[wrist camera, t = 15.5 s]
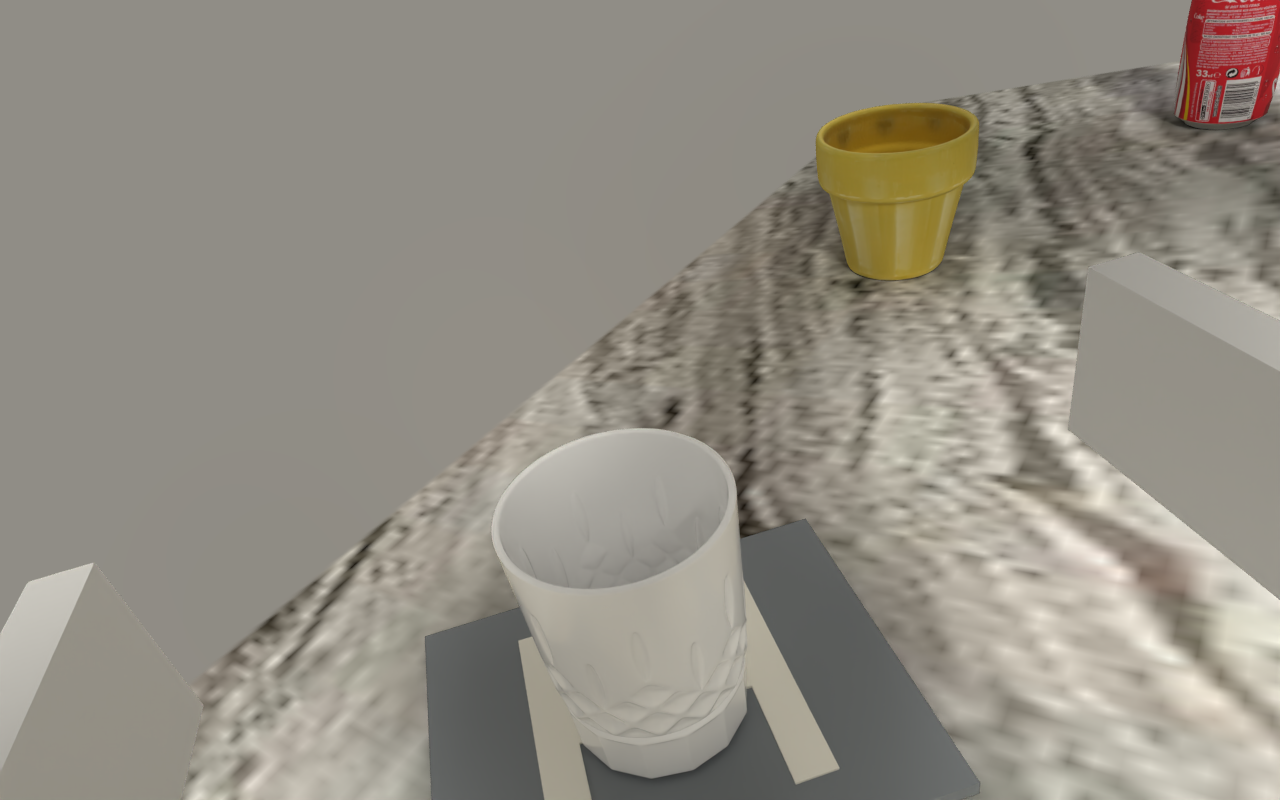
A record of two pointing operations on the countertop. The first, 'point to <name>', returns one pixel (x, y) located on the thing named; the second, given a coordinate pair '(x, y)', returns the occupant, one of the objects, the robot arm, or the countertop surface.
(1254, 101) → the soda can
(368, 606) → the countertop surface
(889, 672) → the letter board
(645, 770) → the white cup
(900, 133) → the plant pot
